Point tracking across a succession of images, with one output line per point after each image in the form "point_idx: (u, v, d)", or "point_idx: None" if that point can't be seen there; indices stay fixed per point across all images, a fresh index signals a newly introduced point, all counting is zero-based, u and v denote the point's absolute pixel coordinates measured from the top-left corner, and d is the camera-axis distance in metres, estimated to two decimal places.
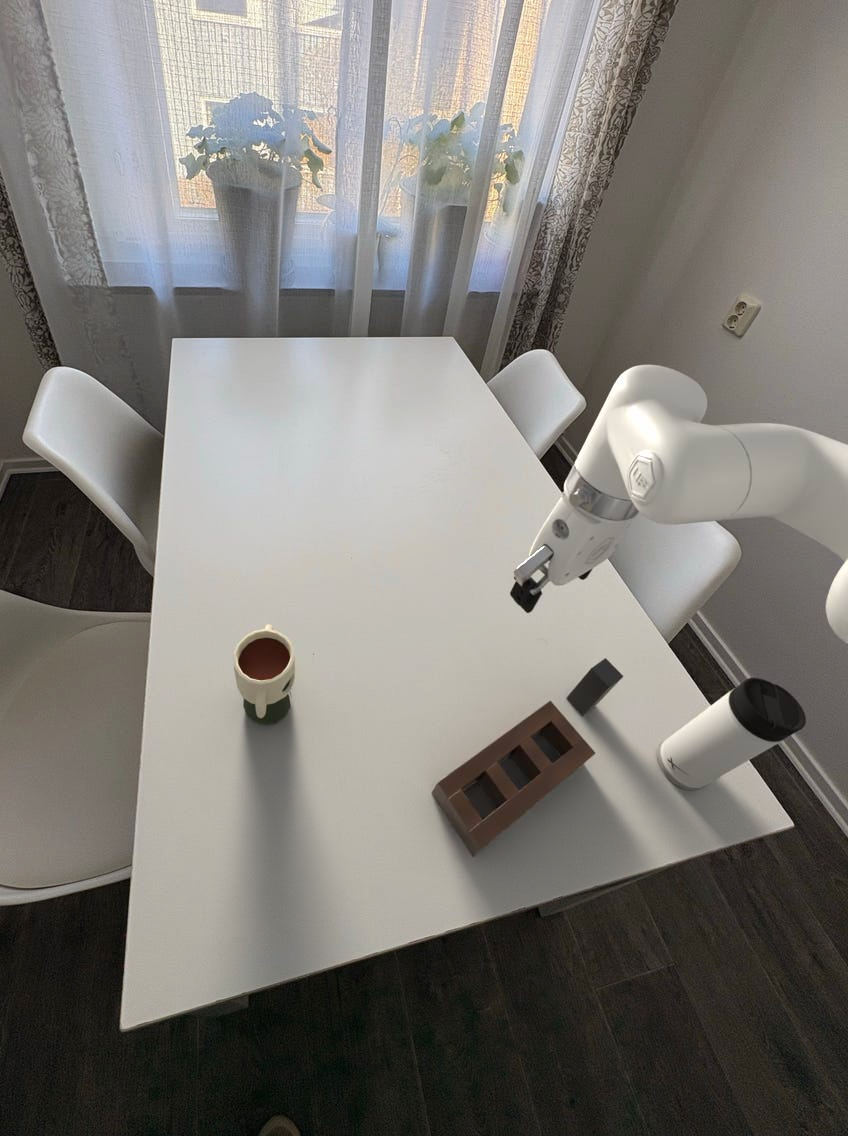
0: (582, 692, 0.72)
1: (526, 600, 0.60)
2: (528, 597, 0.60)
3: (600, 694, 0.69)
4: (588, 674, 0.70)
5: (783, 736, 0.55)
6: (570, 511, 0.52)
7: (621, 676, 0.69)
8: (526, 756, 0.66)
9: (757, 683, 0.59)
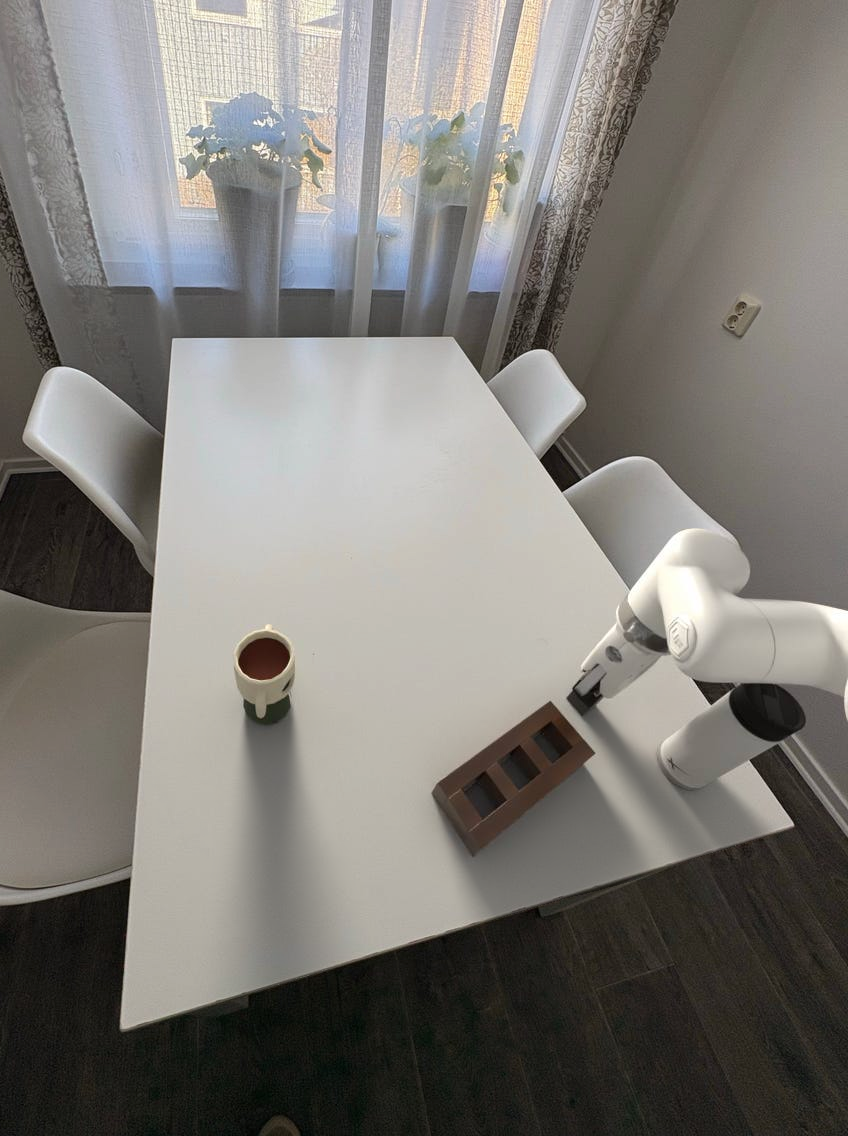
0: None
1: (588, 698, 0.70)
2: (591, 696, 0.69)
3: None
4: None
5: (783, 736, 0.55)
6: (623, 642, 0.59)
7: None
8: (526, 756, 0.66)
9: (757, 683, 0.59)
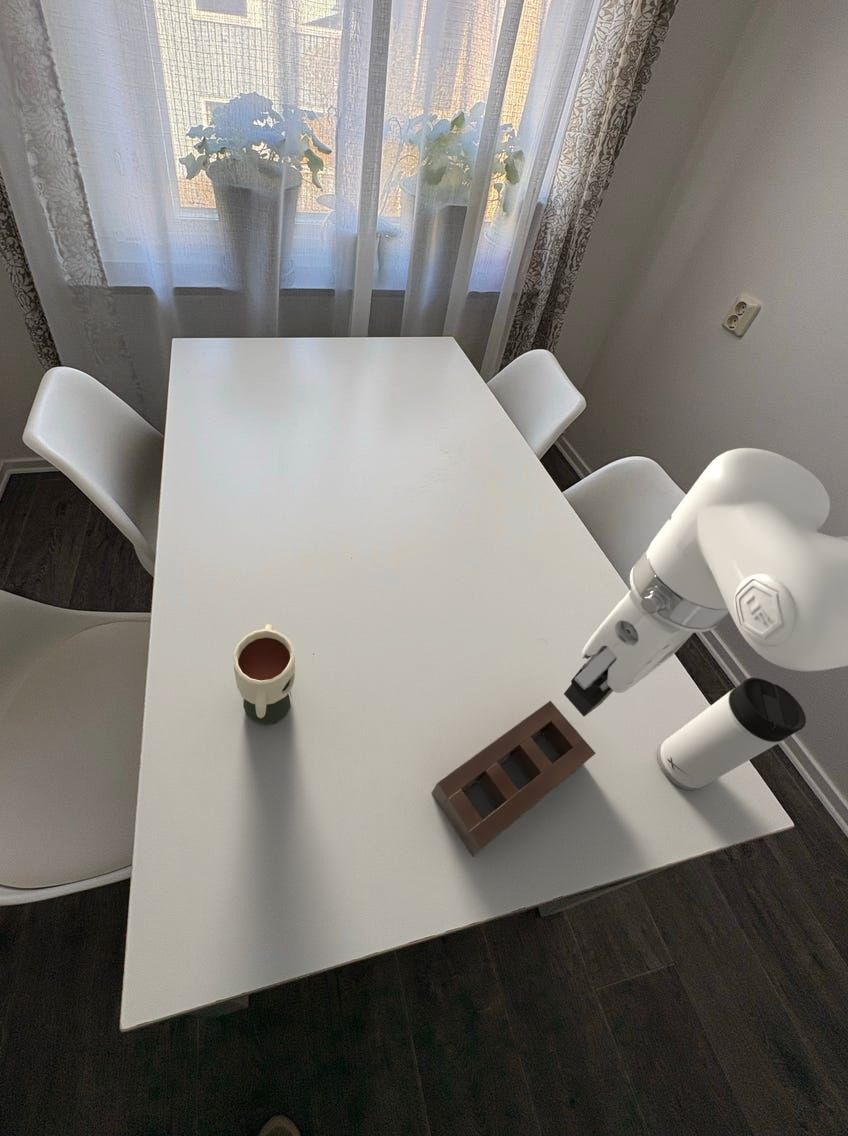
0: None
1: (592, 693, 0.54)
2: (595, 691, 0.53)
3: None
4: None
5: (783, 736, 0.55)
6: (640, 614, 0.43)
7: None
8: (526, 756, 0.66)
9: (757, 683, 0.59)
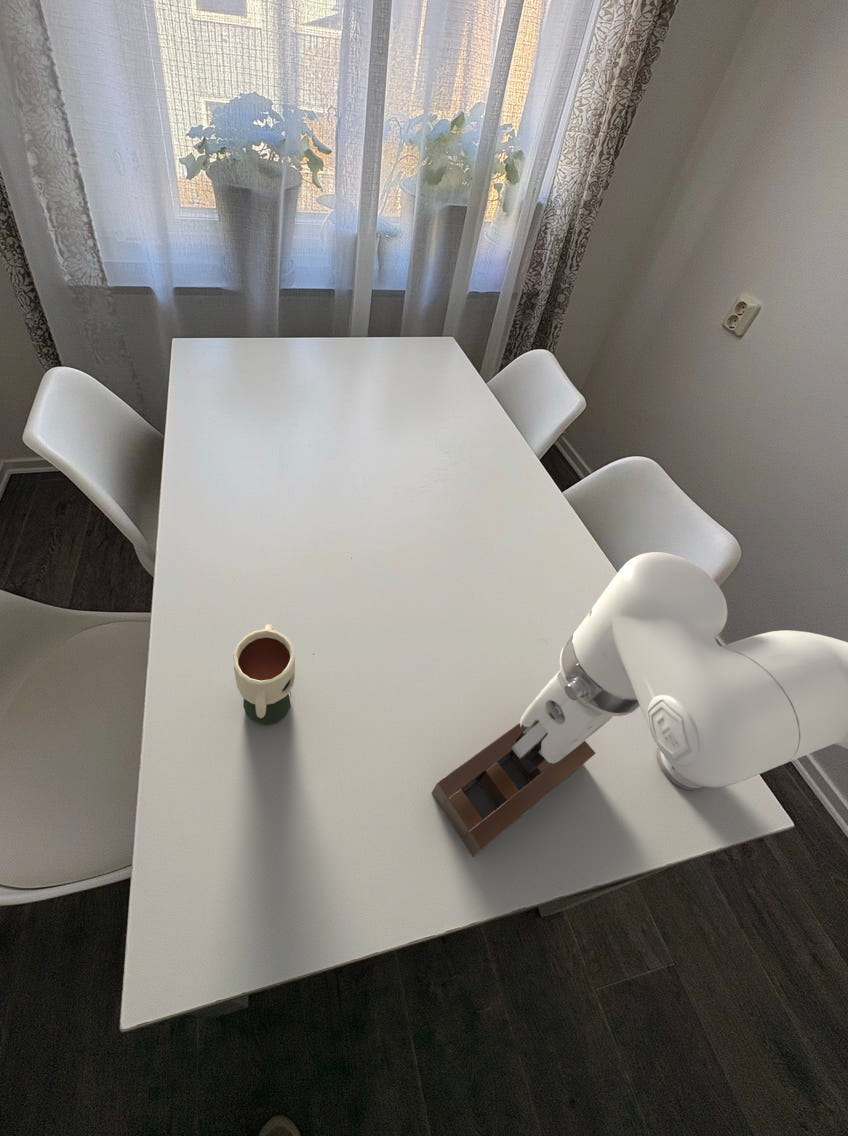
0: None
1: (533, 756, 0.56)
2: (536, 754, 0.56)
3: None
4: None
5: None
6: (566, 697, 0.45)
7: None
8: None
9: None
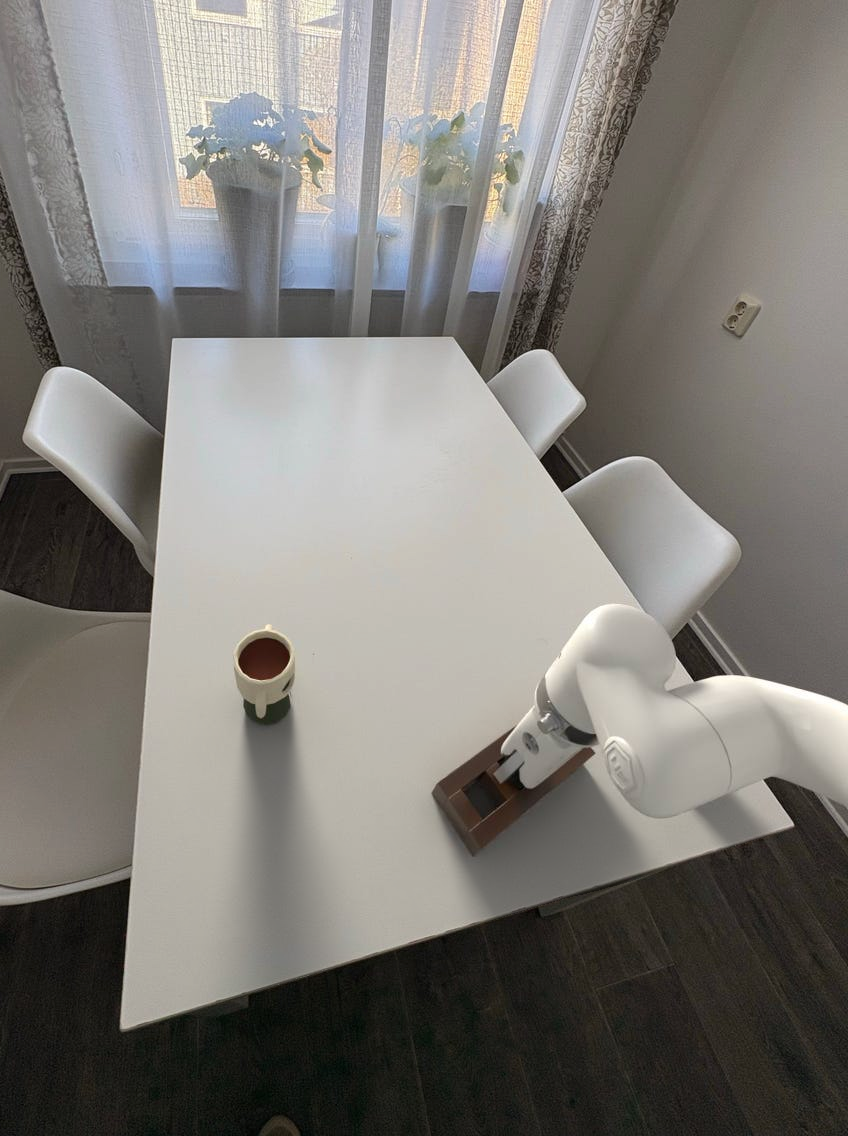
0: None
1: (515, 780, 0.61)
2: (517, 778, 0.60)
3: None
4: None
5: None
6: (539, 730, 0.50)
7: None
8: None
9: None
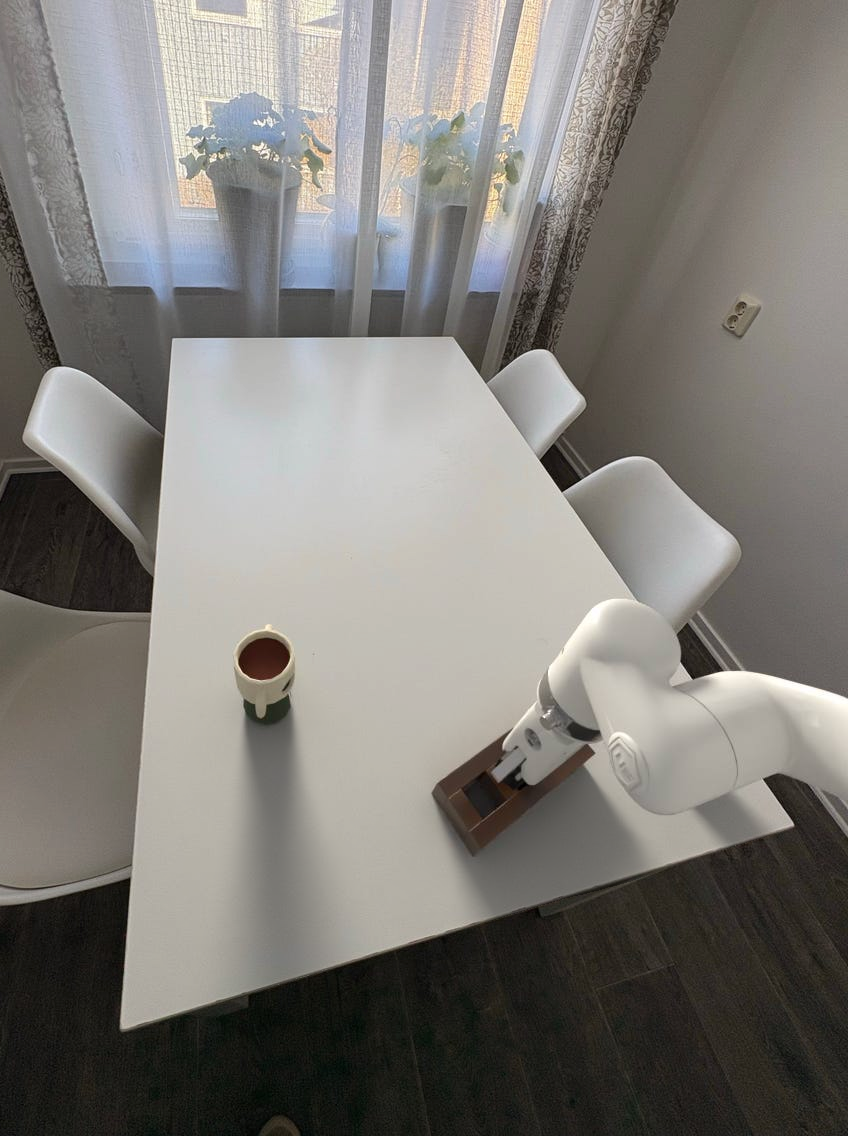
0: None
1: (510, 780, 0.60)
2: (512, 779, 0.59)
3: None
4: None
5: None
6: (542, 726, 0.50)
7: None
8: None
9: None
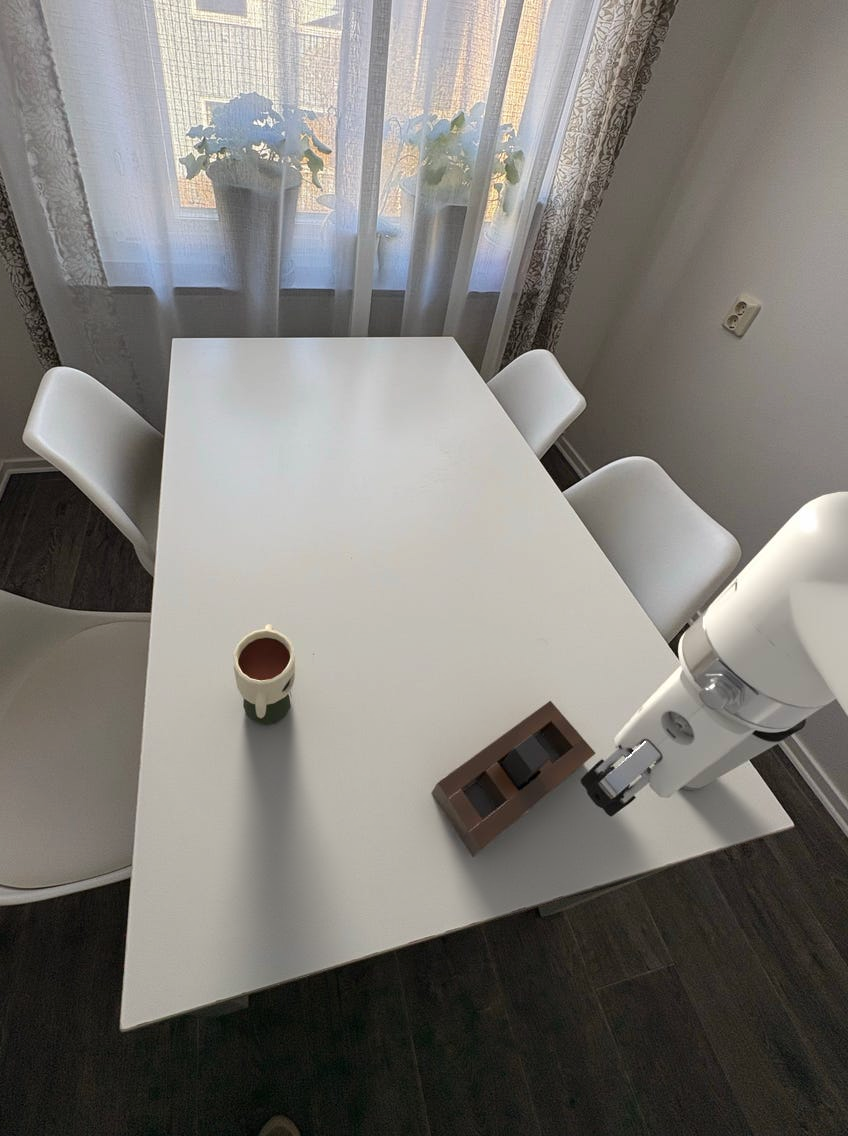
0: (508, 771, 0.64)
1: (609, 802, 0.41)
2: None
3: (524, 777, 0.61)
4: (512, 753, 0.62)
5: (783, 736, 0.55)
6: (697, 706, 0.33)
7: (548, 757, 0.60)
8: None
9: None
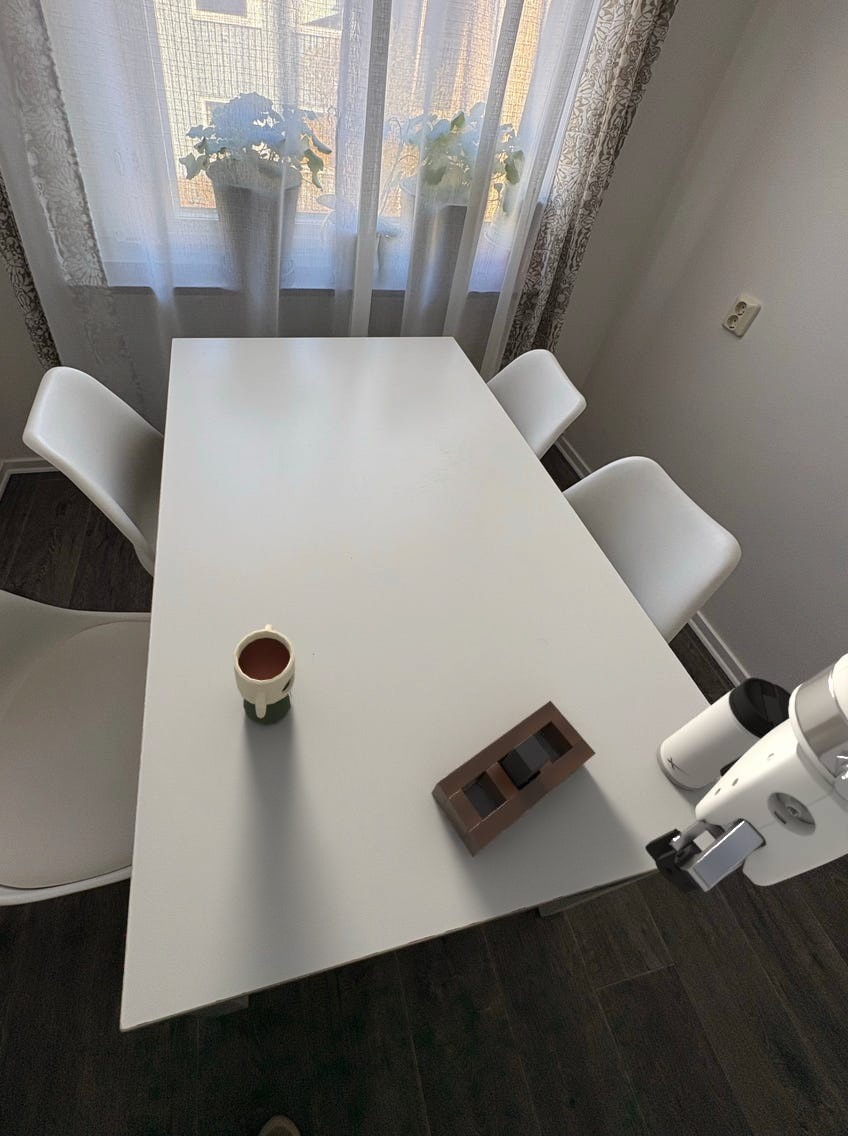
0: (508, 771, 0.64)
1: None
2: None
3: (524, 777, 0.61)
4: (512, 754, 0.62)
5: None
6: (822, 793, 0.26)
7: (548, 757, 0.60)
8: None
9: (757, 683, 0.59)
